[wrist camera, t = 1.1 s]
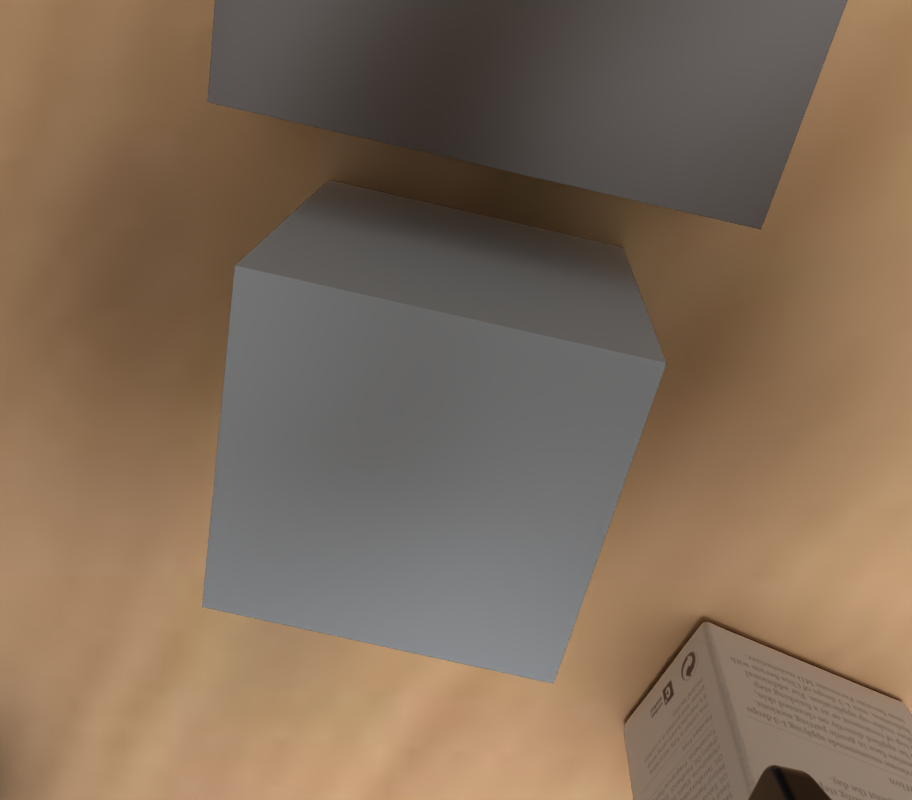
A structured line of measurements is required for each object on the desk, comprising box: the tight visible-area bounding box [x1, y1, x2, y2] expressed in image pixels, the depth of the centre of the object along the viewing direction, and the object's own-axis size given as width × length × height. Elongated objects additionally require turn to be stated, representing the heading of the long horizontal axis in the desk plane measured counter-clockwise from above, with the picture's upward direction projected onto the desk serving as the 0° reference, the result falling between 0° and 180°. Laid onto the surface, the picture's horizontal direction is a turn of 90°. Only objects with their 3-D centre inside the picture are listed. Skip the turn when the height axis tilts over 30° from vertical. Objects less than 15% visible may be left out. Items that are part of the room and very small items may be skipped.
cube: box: [202, 180, 666, 684], centre depth 15 cm, size 6×6×6 cm
